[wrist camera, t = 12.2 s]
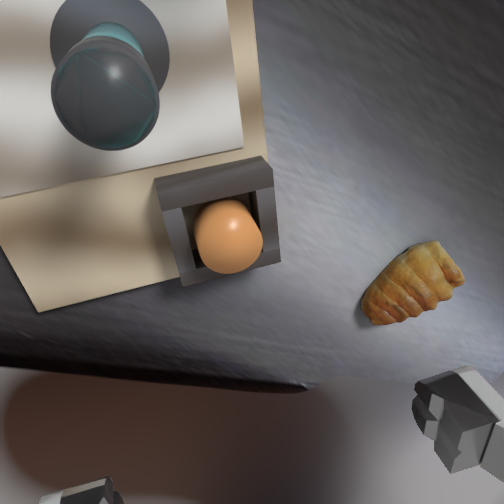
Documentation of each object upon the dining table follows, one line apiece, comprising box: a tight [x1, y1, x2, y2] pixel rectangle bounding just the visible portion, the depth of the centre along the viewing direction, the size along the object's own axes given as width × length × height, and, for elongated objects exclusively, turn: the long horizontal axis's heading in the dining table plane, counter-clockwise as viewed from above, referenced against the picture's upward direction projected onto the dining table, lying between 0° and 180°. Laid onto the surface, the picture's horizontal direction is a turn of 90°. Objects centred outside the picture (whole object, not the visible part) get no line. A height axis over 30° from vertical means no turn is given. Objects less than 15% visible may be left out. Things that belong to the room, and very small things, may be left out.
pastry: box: [361, 241, 465, 325], centre depth 37 cm, size 9×7×4 cm
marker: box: [51, 22, 160, 151], centre depth 17 cm, size 3×3×11 cm
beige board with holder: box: [0, 0, 281, 312], centre depth 23 cm, size 23×18×4 cm
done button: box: [192, 197, 263, 274], centre depth 26 cm, size 4×4×3 cm
